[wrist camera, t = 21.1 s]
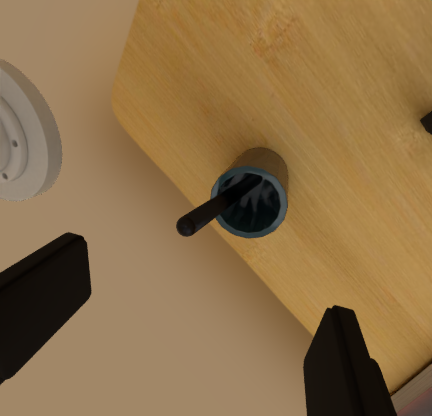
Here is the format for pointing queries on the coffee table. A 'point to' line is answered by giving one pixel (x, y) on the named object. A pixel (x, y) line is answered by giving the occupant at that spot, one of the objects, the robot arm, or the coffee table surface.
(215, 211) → the stylus
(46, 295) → the robot arm
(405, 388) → the picture frame
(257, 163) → the pen cup
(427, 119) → the gun
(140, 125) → the coffee table surface
